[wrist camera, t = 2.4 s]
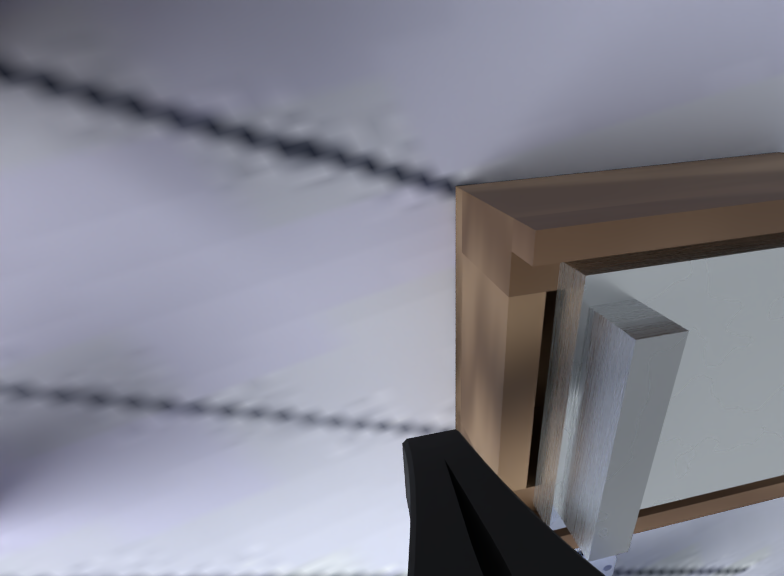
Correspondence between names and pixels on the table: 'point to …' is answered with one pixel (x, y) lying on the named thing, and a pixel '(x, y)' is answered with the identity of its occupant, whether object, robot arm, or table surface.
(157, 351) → the table surface
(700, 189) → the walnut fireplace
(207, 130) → the table surface
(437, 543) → the robot arm
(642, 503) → the cover plate
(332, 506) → the table surface
